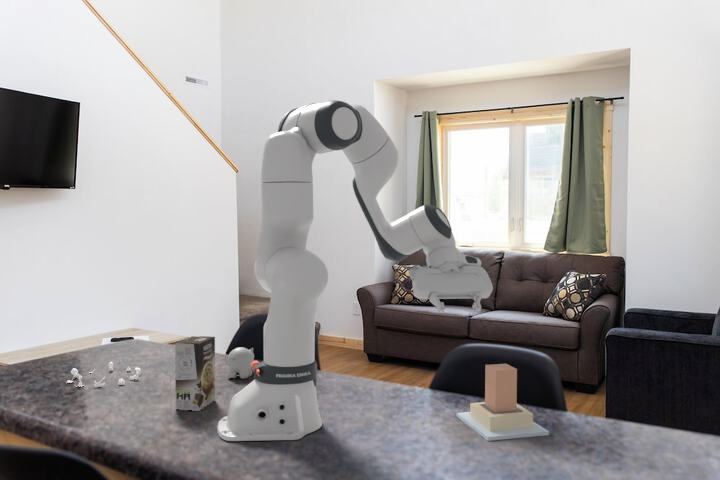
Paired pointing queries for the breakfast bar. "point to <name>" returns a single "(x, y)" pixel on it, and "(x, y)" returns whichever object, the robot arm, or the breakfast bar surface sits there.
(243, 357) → the chubby cartoon animal
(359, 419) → the breakfast bar surface
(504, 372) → the pillar block
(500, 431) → the base
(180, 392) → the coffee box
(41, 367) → the breakfast bar surface
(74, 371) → the game piece set
